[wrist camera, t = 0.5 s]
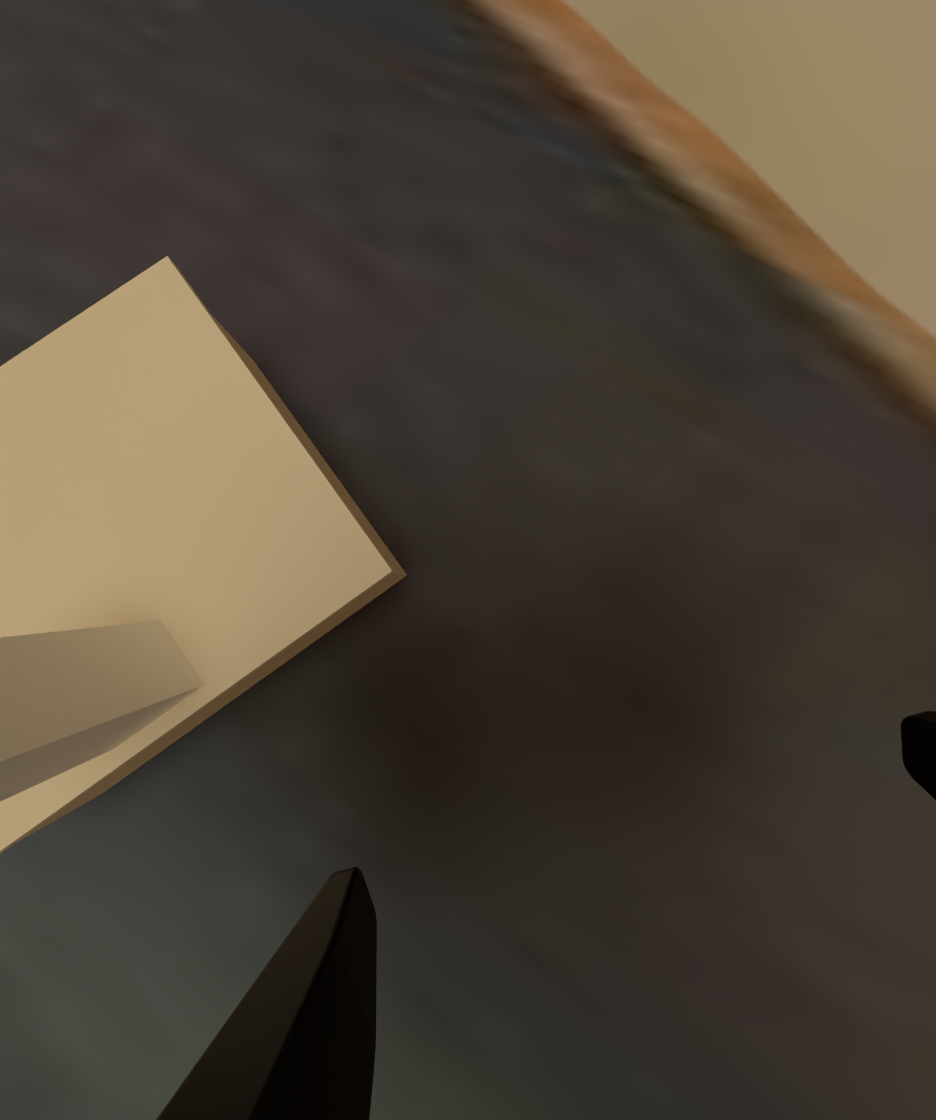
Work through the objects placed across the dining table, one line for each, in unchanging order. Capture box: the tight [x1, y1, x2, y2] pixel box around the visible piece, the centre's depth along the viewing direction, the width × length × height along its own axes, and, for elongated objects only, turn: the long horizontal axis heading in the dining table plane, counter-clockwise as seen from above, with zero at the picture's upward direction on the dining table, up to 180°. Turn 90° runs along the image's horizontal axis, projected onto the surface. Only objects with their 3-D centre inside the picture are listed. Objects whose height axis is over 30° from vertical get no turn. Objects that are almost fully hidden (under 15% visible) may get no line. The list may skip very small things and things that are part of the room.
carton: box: [19, 316, 407, 841], centre depth 19 cm, size 12×16×6 cm
